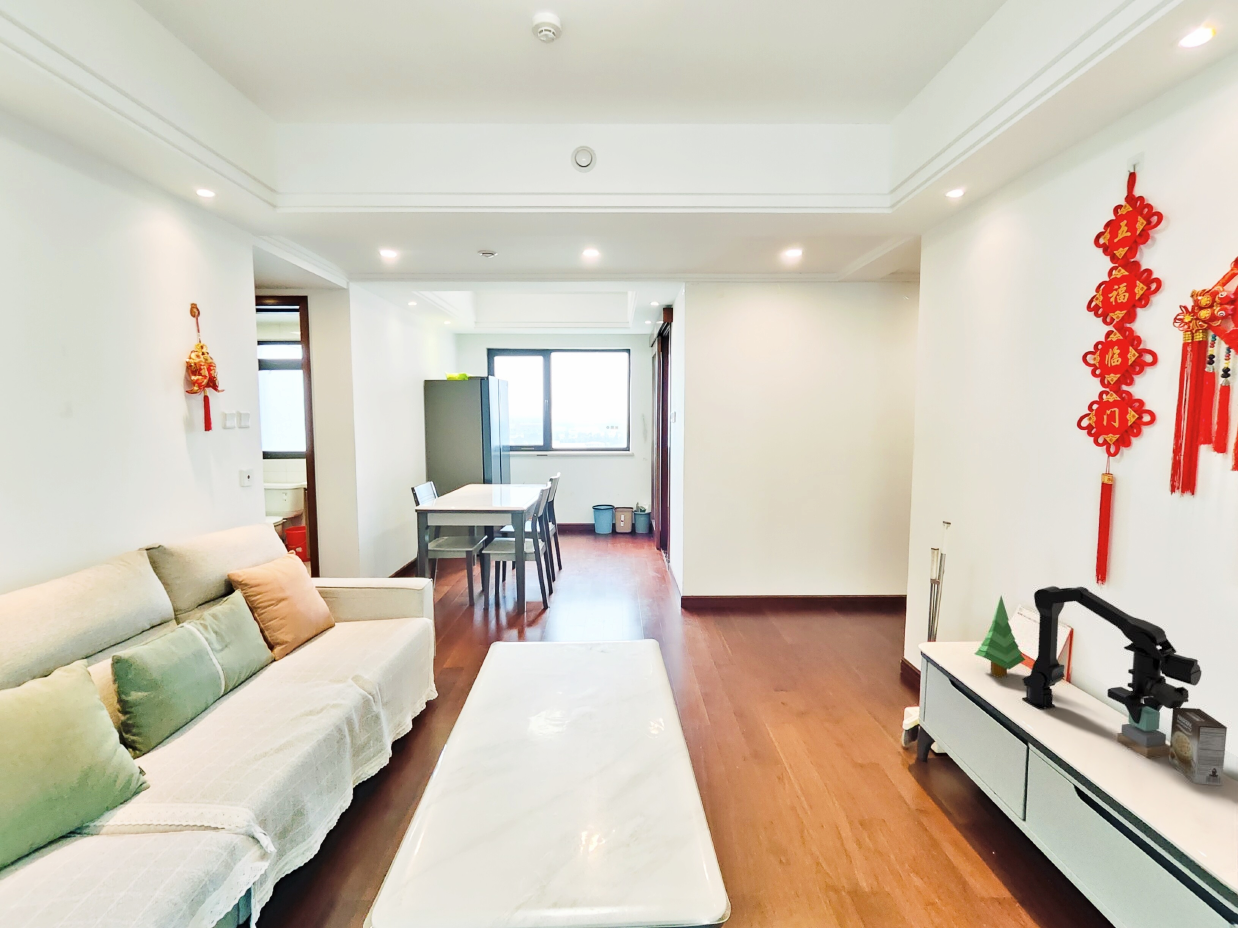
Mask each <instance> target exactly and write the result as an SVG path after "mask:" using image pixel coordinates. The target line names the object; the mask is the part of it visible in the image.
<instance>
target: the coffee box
mask: <svg viewBox="0 0 1238 928" xmlns="http://www.w3.org/2000/svg"><path fill="white" fill-rule="evenodd" d="M1170 729H1171V731H1170V744H1169V745H1170V755H1168V758H1169V760H1168V762H1169V763H1170V764H1171V765H1172V766H1174V767H1175V768H1176V769H1177V770H1178V771H1179V772H1181V773H1182V774H1183V775H1184V776H1185V777H1186V778H1188V779H1189V780H1190V781H1191V782H1193V783H1194V784H1196V785H1198V784H1199V785H1210V786H1222V785H1223V777H1224V776H1223V775H1224V766H1225V755H1226V753H1225V752H1226V743H1227V742H1226V741H1227V733H1228V732H1227V731H1228V730H1227V729H1228V727H1227V726H1226V725H1224V724H1222V723H1221V722H1220V721H1218V720H1217V719H1215V718H1214V717H1213V716H1211V715H1209V714H1208V713H1206V712H1205V711H1204V710H1202V709H1201V708H1193V707H1191V708H1190V707H1180V708H1178V707H1177V708H1173V709H1172V716H1171V728H1170Z"/></svg>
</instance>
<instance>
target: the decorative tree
mask: <svg viewBox="0 0 1238 928" xmlns="http://www.w3.org/2000/svg"><path fill="white" fill-rule="evenodd" d="M1009 621H1010V619H1009V615H1008V613H1007V610H1006V606H1005V603H1004V600H1003V596H1002V595H1000V597H999V601H998V602H997V606H996V610H995V613H994V615H993V619H992V622H991V625H990V627H989V630H988V631H987V634H986V636H985V637H984V640H983V641H982V643H981V644H980V646H979V647H978V648H977V651H976V652H974V655H975V656H979V657H981V658H983V659H986V660H988V661H990V674H991V675H992V676H994V675H995V676H994V677H999V678H1006V677H1007V676H1008V670H1011V669H1013V668H1014V667H1016V666H1017V665H1019V664H1021V663H1023V662H1024V661H1026V659H1025V657H1024V656H1023V655H1022V654H1023V652H1022V651H1021V650H1020V648H1019V647H1020V646H1019V644H1018V643H1017V642H1016V638H1015V636H1014V635H1013V630H1012V627H1011V626H1010V623H1009Z"/></svg>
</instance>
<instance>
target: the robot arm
mask: <svg viewBox="0 0 1238 928" xmlns="http://www.w3.org/2000/svg"><path fill="white" fill-rule="evenodd" d="M1033 598H1034V599H1033V600H1034V605H1035V608H1036V611H1038V613H1039V623H1038V624H1039V625H1038V626H1039V627H1038V629H1039V630H1038V652H1037V657H1036V659H1035V660H1034V662H1033V664H1032V666H1031V667H1032V668H1031V672H1030V675H1028V676H1025V677H1023V678H1022V679H1021V680H1022V684H1023V686H1025V687H1026V690H1025V692H1026V693H1025V694H1026V695H1025V697H1021V699H1022V700H1023V701H1024V702H1026V703H1028V704H1030V705H1031V706H1033V707H1034V708H1036V709H1038V710H1043V709H1050V708H1056V704H1054V703H1053V696H1054V695H1053V688H1051V687H1053V686H1054V687H1055V685H1056V684H1057V683H1059V682H1061V681H1062V679H1063V678H1065V673H1064V670H1065V664H1062V663H1060V661H1059V660H1058V659H1057V658H1058V657H1057V655H1058V634H1059V633H1058V632H1059V631H1058V630H1059V616H1060V614H1061V613H1062V611H1063V610H1064V609H1063V608H1064V607H1065V603H1070V602H1071V603H1072V602H1076V603H1078V604H1080V605H1082V606H1083V607H1084V608H1086V609H1087V610H1089V611H1091V612H1092V613H1094V614H1096V615H1097V616H1099V617H1100V618H1102V619H1103V620H1104V621H1107V622H1108V623H1110V624H1112V625H1113V626H1114V627H1117V629H1118V630H1120V631H1121V633H1122V634H1123V635H1124V637H1125V638H1127V639H1128V640H1129V641H1130V642H1131V643H1130V644H1128V645H1126V646H1124V647H1123V648H1124V650H1126V651H1130V652H1133V655H1132V656H1133V657H1132V668H1130V669H1128V671H1127V673H1128V674H1131V682H1127V687H1128V688H1130V689H1131V690H1129V689H1127V688H1124V687H1123V686H1117V687H1116V686H1115V687H1110V688H1108V689H1107V698H1109V699H1111V700H1114V701H1115V702H1118V703H1119V704H1121V705H1124V707H1125V708H1126V709H1127V711H1128V715H1129V714H1130V716H1131V717H1132V719H1133V721H1134V722H1135V723H1136V724H1139V722H1140V718H1141V712H1142V708H1144V707H1147V706H1148V707H1150V708H1152V709H1154V710H1156V711H1158V712H1160V711H1161V709H1162V708H1163V707H1165V708H1167V709H1170V710H1173V708H1182V706H1183V704H1184V703H1189V690H1188V689H1187V688H1185V687H1184V686H1178V687H1176V686H1174V685H1172V684H1169V683H1167V679H1166V678H1169V679H1173V680H1176V681H1177V682H1182V683H1185V684H1188V685H1191V686H1197V685H1198V684H1199V682H1200V680H1201V677H1202V669H1201V665H1199V664H1198V662H1199V660H1198V659H1195V658H1193V657H1192V658H1191V657H1187V656H1183V655H1180V654H1177V650H1176V649H1175V647H1174V646H1173V645H1172V643H1171V642H1170V641H1169V639H1168V638H1167V634H1166V632H1165V630H1164V629H1163V628H1162V627H1160V626H1158V625H1156V624H1155V623H1154V624H1153V623H1151V622H1149V621H1147V620H1145V619H1140V618H1139V617H1134V616H1132V615H1130V614H1128V613H1127V612H1125V611H1124V610H1121V609H1120V608H1118V607H1117V606H1115V605H1113V604H1112V603H1109V602H1108V601H1107V600H1105V599H1103V598H1102V597H1100V596H1098V595H1096V594H1095V593H1093V592H1091V591H1089V589H1088V588H1086V587H1084V586H1076V587H1063V588H1062V587H1061V588H1060V587H1057V586H1054V585H1051V586H1047V587H1044V588H1039V589H1038V590H1036V591H1035V592H1034V595H1033ZM1158 647H1160V648H1158ZM1161 674H1162V675H1161ZM1163 675H1164V676H1163ZM1165 677H1166V678H1165Z"/></svg>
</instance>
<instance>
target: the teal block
mask: <svg viewBox="0 0 1238 928" xmlns="http://www.w3.org/2000/svg"><path fill="white" fill-rule="evenodd" d="M1160 715H1161V712H1160V711H1159V712H1158V711H1156V710H1154V709H1152V708H1150V707H1148V706H1147V707H1144V708H1142V712H1141V718H1140V722H1139V724H1136V723H1135V722H1134V721H1133V719H1132V717H1131V716H1130V714H1129V713H1128V721H1127V722H1128V724H1130V723H1131V724H1133V725H1134V726H1136V727H1138V728H1140V729H1142V730H1144V731H1150V730H1160V718H1161V716H1160Z"/></svg>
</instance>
